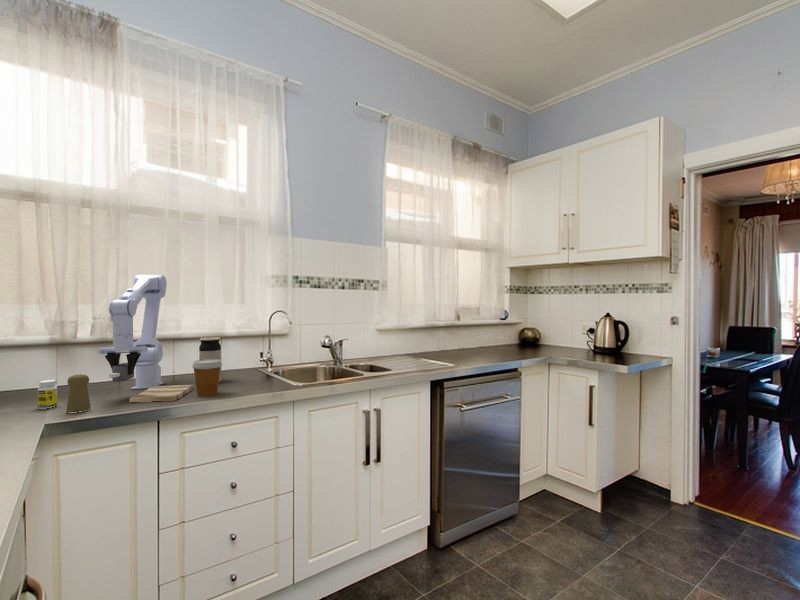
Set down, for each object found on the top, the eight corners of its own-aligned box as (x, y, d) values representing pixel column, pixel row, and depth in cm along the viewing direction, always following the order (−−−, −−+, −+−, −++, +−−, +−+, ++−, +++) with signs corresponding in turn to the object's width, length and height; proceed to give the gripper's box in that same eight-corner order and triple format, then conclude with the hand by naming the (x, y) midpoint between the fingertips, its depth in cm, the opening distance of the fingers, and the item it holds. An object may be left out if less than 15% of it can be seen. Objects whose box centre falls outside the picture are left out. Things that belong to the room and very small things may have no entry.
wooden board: (153, 390, 149) (153, 386, 149) (193, 388, 152) (193, 384, 152) (129, 402, 132) (129, 398, 132) (175, 400, 134) (175, 396, 134)
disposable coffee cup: (218, 397, 139) (218, 362, 139) (188, 398, 137) (188, 363, 137) (224, 391, 148) (224, 358, 148) (196, 392, 146) (196, 359, 146)
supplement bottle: (34, 410, 124) (34, 383, 123) (41, 406, 128) (40, 380, 128) (54, 408, 125) (54, 381, 125) (60, 404, 130) (59, 378, 130)
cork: (88, 407, 127) (87, 372, 127) (93, 410, 123) (93, 374, 123) (63, 411, 122) (63, 375, 122) (68, 414, 119) (68, 377, 118)
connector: (123, 376, 141) (123, 362, 141) (136, 376, 142) (136, 362, 142) (105, 383, 130) (105, 368, 130) (119, 383, 130) (119, 367, 130)
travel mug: (222, 379, 168) (221, 336, 168) (220, 383, 161) (219, 338, 160) (201, 381, 166) (200, 337, 166) (198, 385, 158) (197, 339, 158)
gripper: (92, 336, 132) (93, 377, 132) (140, 335, 134) (141, 375, 134) (104, 334, 139) (105, 373, 139) (150, 333, 141) (150, 371, 141)
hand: (123, 374), depth 137 cm, fingers closed on connector, 4 cm apart
